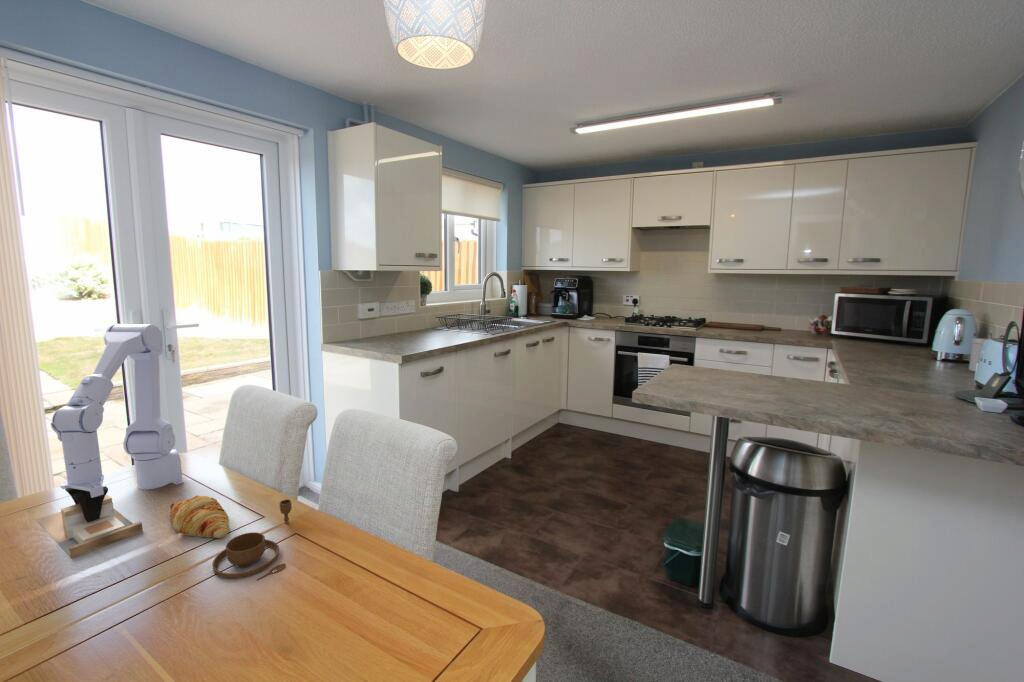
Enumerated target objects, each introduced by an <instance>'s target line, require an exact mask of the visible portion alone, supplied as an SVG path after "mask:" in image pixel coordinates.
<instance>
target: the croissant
mask: <svg viewBox="0 0 1024 682" xmlns="http://www.w3.org/2000/svg"><path fill="white" fill-rule="evenodd" d="M169 518H170V525H171V527H172V528H173V530H174V531H175V532H176V533H178V534H181V535H184V536H191V537H200V538H206V537H207V538H210V537H212V538H213V539H222V538H223V537H226V536H227V535H228V534H229V531H230V519H229V516H228V513H227V512H226V511H225V509H224V508H223V506H222V505H221V504H220V502H218V500H217V498H214V497H210V496H206V495H195V496H193V497H192V498H188V499H186V500H180V501H175V502H173V503H172V502H171V504H170V513H169Z"/></svg>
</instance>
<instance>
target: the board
mask: <svg viewBox="0 0 1024 682" xmlns="http://www.w3.org/2000/svg"><path fill="white" fill-rule="evenodd" d="M113 509H114V517H115V518H117V519H118V520H119V521H120V522H121V523H123V524H124V525H125V527H124V528H121V529H118V530H115V531H113V532H110V533H107V534H104V535H102V536H99V537H96V538H93V539H90V540H88V541H85V542H82V543H78V542H77V541H76V540H75V539H74V538H71V539H68V538H67V537H66V536H65V535H64V528H63V521H62V514H61V511H59V512H55V513H52V514H49V515H45V516H43V517H39V518H36V519H35V520H36V522H38V524H39V525H40V526H41V527H42V528H43V529H44V530H45V531H46V532H47V534H48V535H49V536H50V537H51V538H52V539H53V540H54V541H55V542H56V544H58V545H59V547H60V548H61V549H62V550H63V551H64V552H65V554H67V555H68V556H69V558H70V559H74V558H77V557H79V556H81V555H84V554H89V553H90V552H92V551H95V550H99V549H100V548H103V547H106V546H108V545H111V544H113V543H114V544H115V543H116V542H119V541H123V540H124V539H127V538H131V537H132V536H134V535H135V536H136V535H138V534H140V533H143V532H144V528H143V522H141V521H138V522H135V523H133V522H132V521H130V519H128V518H127V517H126V516H124V515H123V514H122V513H121V512H119V511H118V510H117V509H116V508H114V507H113Z"/></svg>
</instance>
